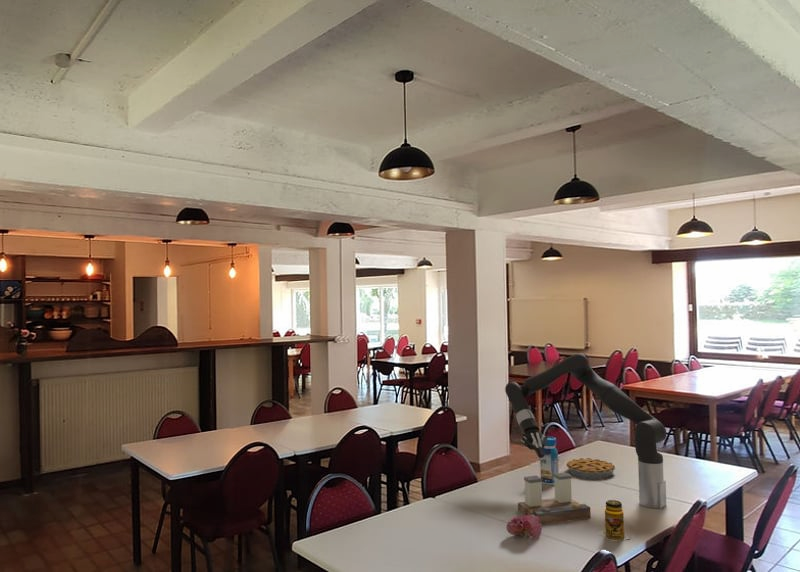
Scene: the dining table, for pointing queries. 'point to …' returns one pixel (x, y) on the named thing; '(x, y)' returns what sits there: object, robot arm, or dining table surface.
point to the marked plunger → (563, 487)
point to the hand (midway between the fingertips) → (542, 457)
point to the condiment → (614, 521)
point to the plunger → (533, 491)
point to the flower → (525, 526)
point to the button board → (556, 511)
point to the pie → (590, 468)
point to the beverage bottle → (549, 462)
